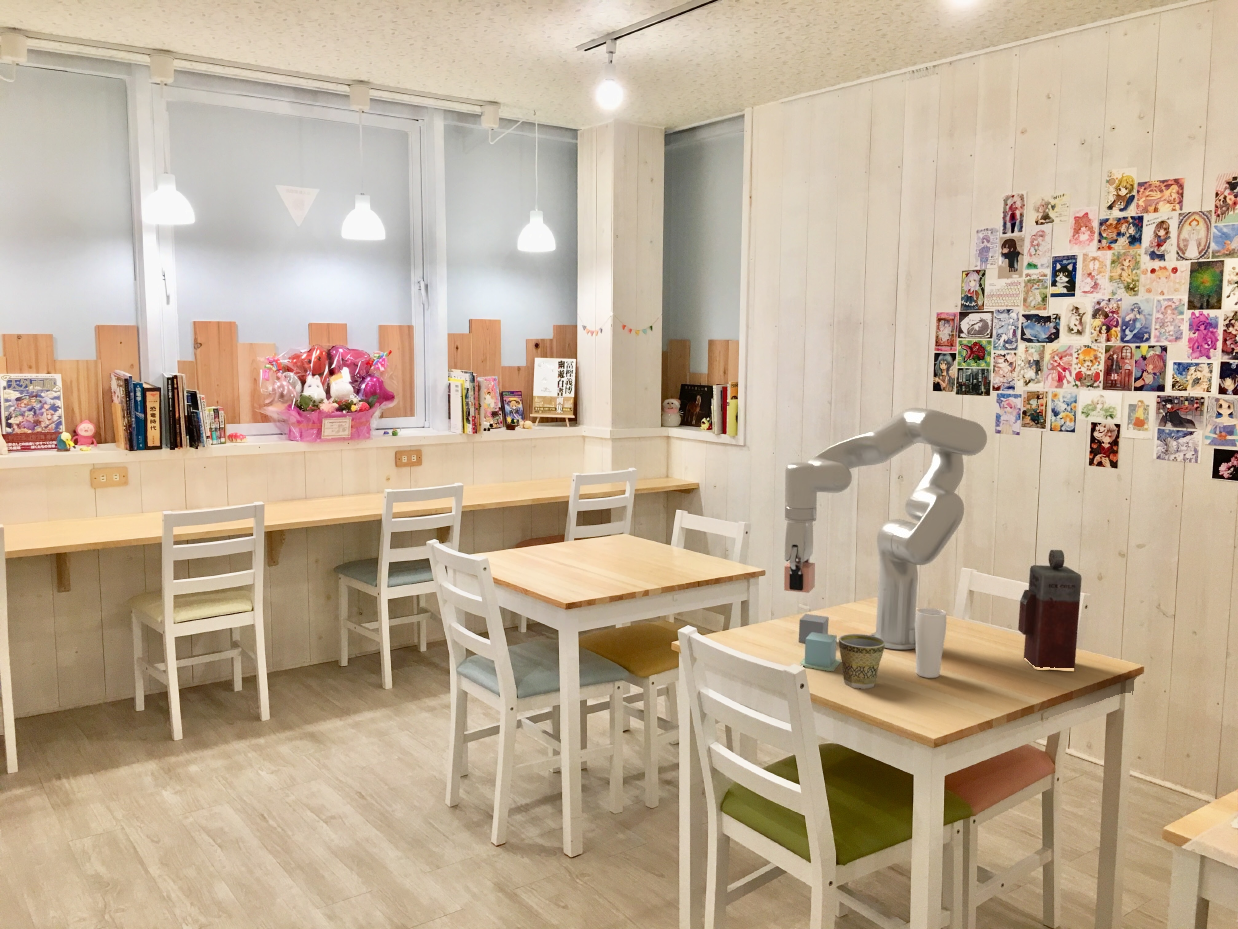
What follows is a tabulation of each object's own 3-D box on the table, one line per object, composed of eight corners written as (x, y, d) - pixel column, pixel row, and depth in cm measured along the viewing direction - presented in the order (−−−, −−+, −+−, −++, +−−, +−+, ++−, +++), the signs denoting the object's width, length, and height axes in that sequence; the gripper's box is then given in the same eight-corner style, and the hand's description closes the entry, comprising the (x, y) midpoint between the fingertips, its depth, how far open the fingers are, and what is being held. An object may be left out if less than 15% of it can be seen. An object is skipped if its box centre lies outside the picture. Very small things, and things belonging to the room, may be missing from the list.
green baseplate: (840, 662, 237) (840, 659, 236) (833, 671, 229) (833, 669, 229) (807, 657, 240) (807, 654, 240) (799, 666, 233) (799, 664, 232)
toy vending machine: (1013, 658, 242) (1021, 545, 239) (1060, 659, 241) (1069, 546, 238) (1025, 670, 233) (1034, 553, 230) (1074, 671, 233) (1084, 554, 229)
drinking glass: (927, 681, 224) (931, 616, 222) (906, 672, 230) (909, 609, 228) (949, 677, 227) (953, 613, 225) (927, 668, 233) (931, 606, 231)
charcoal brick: (827, 639, 255) (828, 616, 254) (822, 645, 249) (823, 622, 249) (804, 636, 257) (805, 613, 256) (798, 642, 252) (799, 619, 251)
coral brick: (790, 584, 246) (791, 561, 246) (814, 587, 244) (815, 563, 243) (784, 590, 241) (784, 566, 240) (808, 592, 239) (809, 568, 238)
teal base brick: (835, 660, 236) (836, 635, 235) (830, 667, 231) (831, 642, 230) (810, 656, 238) (811, 632, 238) (804, 663, 233) (805, 638, 232)
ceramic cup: (880, 694, 215) (882, 649, 214) (833, 688, 218) (835, 643, 217) (886, 676, 227) (888, 633, 226) (841, 670, 231) (843, 628, 229)
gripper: (794, 507, 249) (793, 577, 252) (775, 519, 234) (775, 593, 236) (824, 508, 246) (823, 579, 249) (807, 521, 231) (806, 596, 233)
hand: (799, 585), depth 242 cm, fingers closed on coral brick, 6 cm apart
